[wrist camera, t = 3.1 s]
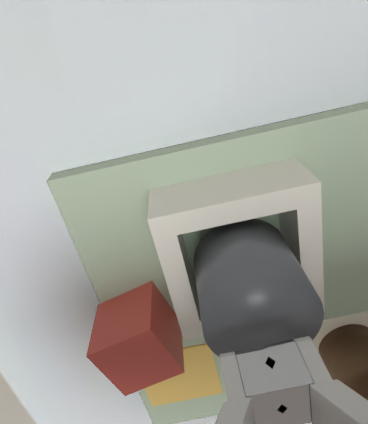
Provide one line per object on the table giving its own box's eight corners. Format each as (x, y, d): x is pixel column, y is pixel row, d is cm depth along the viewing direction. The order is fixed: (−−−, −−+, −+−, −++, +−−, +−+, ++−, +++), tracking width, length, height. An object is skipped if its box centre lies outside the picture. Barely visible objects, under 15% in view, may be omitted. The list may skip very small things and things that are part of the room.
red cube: (151, 280, 19) (150, 329, 16) (180, 320, 21) (184, 372, 17) (98, 304, 20) (86, 356, 16) (130, 342, 21) (125, 395, 18)
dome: (284, 208, 15) (322, 264, 11) (290, 285, 17) (325, 353, 13) (184, 229, 15) (191, 291, 12) (202, 303, 17) (213, 375, 14)
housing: (294, 156, 16) (321, 182, 13) (302, 273, 19) (324, 311, 17) (149, 189, 16) (147, 219, 14) (180, 298, 20) (183, 339, 17)
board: (402, 94, 16) (418, 98, 15) (378, 370, 25) (387, 384, 24) (52, 173, 17) (45, 182, 16) (154, 413, 26) (154, 428, 25)
